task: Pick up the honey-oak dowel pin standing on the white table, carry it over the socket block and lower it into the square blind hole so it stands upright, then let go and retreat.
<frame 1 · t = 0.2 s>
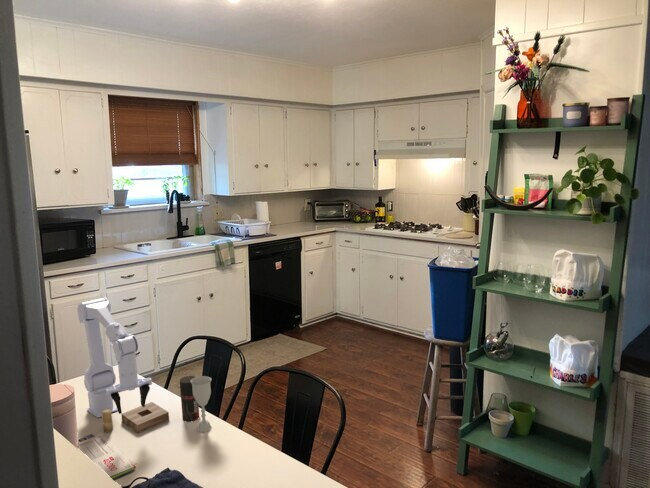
hand: (131, 409, 179), 10 cm above the table, fingers open, 7 cm apart
chalice: (204, 428, 184), on the table
pin: (108, 430, 185), on the table
deodorant: (191, 418, 192), on the table
socket block: (145, 420, 191), on the table
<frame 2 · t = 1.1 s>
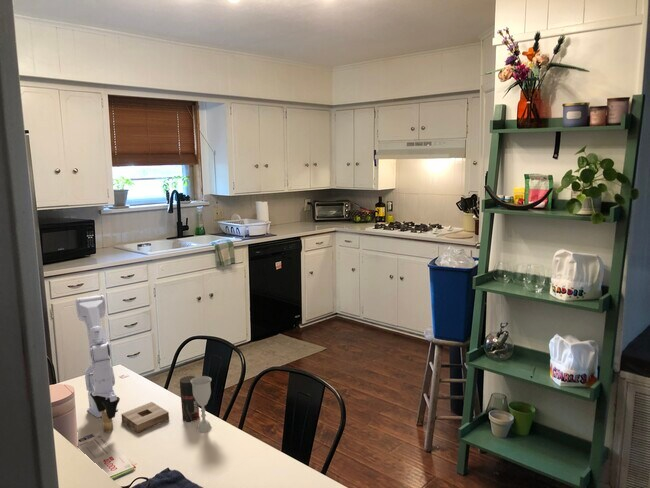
hand: (106, 414, 184), 6 cm above the table, fingers open, 7 cm apart
nothing on the table moved.
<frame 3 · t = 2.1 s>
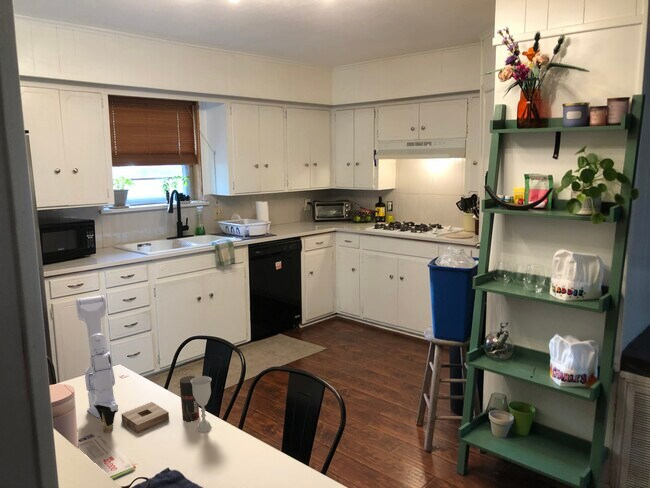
hand: (107, 423, 184), 3 cm above the table, fingers closed on pin, 3 cm apart
pin: (108, 430, 185), on the table, touching gripper
everything else where it was.
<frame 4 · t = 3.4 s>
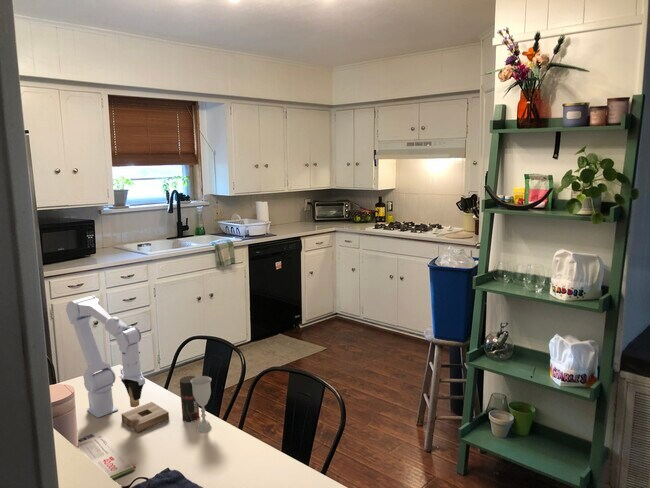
hand: (134, 397, 187), 10 cm above the table, fingers closed on pin, 3 cm apart
pin: (134, 405, 188), point 7 cm above the table, touching gripper
everything else where it was.
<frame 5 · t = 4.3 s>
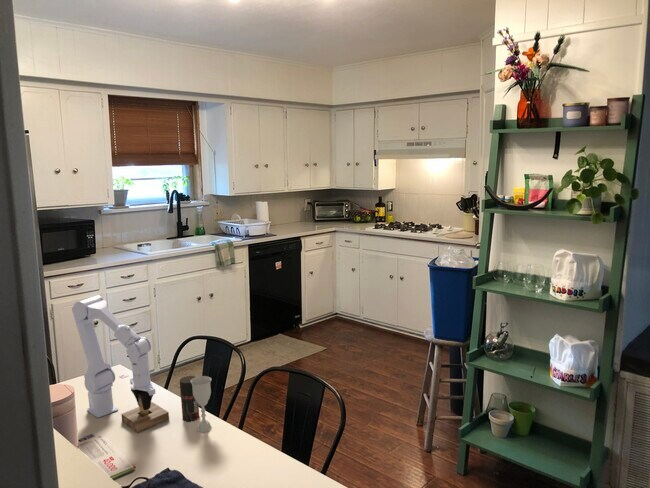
hand: (144, 407, 190), 5 cm above the table, fingers closed on pin, 3 cm apart
pin: (144, 414, 190), point 2 cm above the table, touching gripper
everything else where it was.
when the fingers open (4 cm above the table, at t = 4.8 s): pin stays where it is, resting on socket block.
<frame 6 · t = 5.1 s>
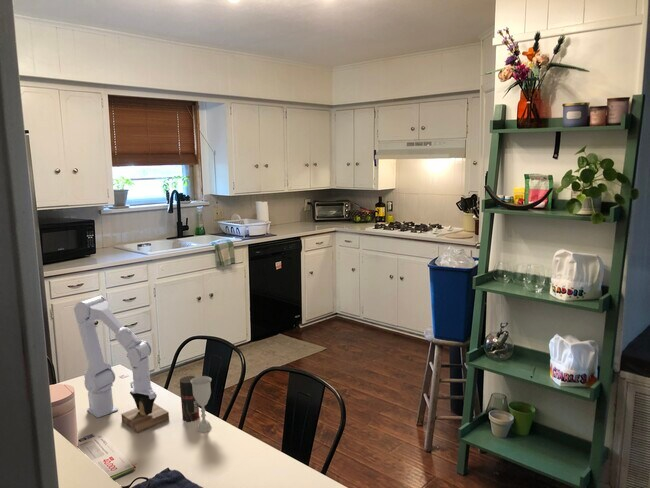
hand: (144, 411, 190), 4 cm above the table, fingers open, 5 cm apart
pin: (144, 419, 190), point 1 cm above the table, touching socket block
everything else where it was.
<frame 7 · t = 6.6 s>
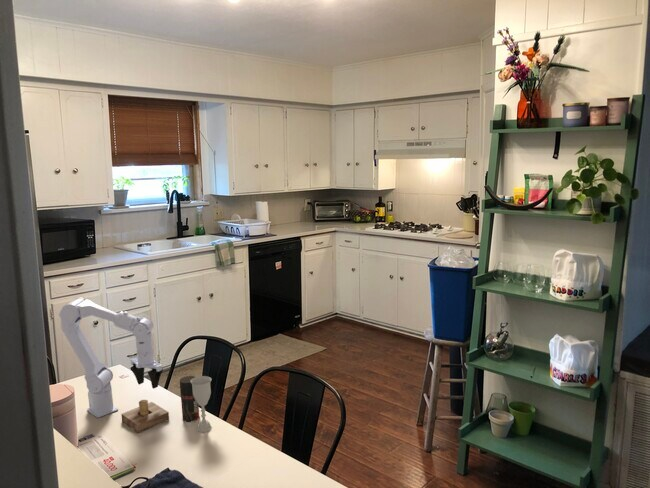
hand: (148, 385, 197), 10 cm above the table, fingers open, 7 cm apart
nothing on the table moved.
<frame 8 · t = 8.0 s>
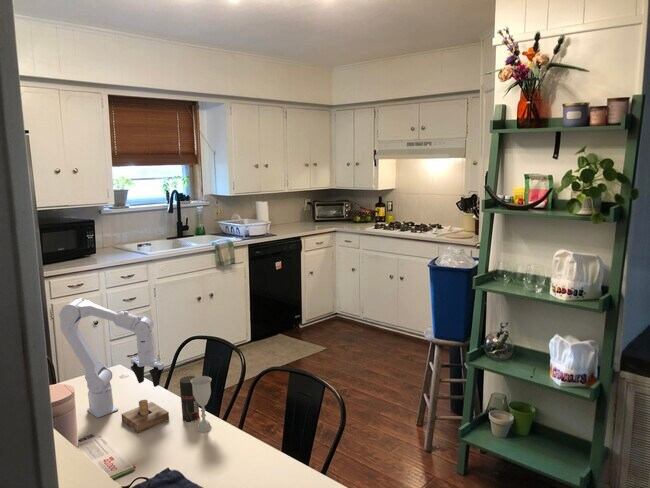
hand: (148, 383, 198), 10 cm above the table, fingers open, 7 cm apart
nothing on the table moved.
at the end: pin 0.2 cm off-centre on the socket block, point 0.5 cm above the socket block's base; pin tilted 1°; the gripper is holding nothing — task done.
